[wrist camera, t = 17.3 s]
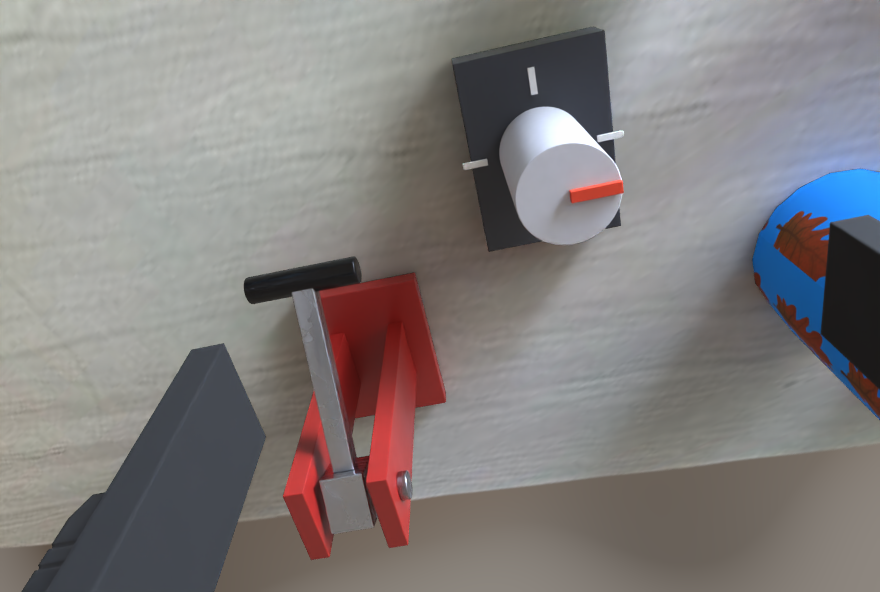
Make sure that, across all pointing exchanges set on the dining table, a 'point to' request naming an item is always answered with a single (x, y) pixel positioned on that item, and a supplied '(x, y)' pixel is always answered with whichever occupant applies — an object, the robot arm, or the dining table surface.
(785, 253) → the thermos
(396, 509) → the red lever stand
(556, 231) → the knob
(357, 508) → the lever
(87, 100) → the dining table surface
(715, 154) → the dining table surface
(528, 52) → the dial panel
